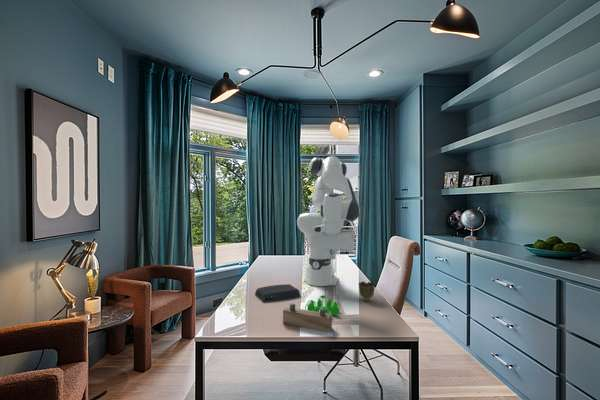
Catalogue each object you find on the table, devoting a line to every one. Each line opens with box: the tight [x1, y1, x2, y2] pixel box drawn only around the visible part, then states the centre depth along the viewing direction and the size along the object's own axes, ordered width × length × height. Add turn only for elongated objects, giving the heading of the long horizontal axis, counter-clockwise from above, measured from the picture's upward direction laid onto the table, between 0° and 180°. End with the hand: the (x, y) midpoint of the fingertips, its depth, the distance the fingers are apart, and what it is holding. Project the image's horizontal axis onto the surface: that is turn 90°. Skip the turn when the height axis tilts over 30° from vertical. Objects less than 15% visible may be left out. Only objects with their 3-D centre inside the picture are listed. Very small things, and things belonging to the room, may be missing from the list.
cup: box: [358, 281, 376, 302], centre depth 144 cm, size 8×7×8 cm
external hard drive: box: [254, 283, 301, 303], centre depth 150 cm, size 13×19×4 cm
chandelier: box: [304, 295, 341, 317], centre depth 129 cm, size 15×15×7 cm
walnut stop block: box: [282, 303, 333, 333], centre depth 115 cm, size 4×18×7 cm, turn 66°
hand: (332, 258), depth 142 cm, fingers closed
